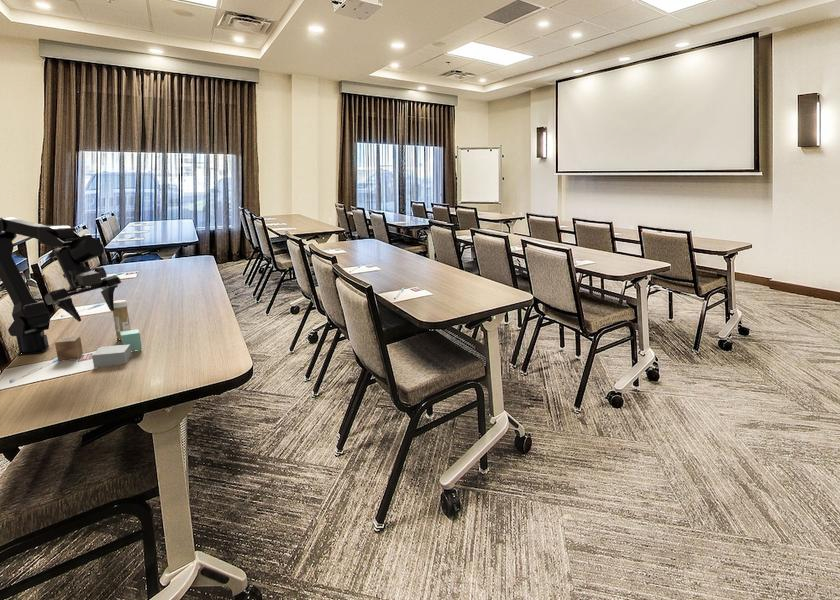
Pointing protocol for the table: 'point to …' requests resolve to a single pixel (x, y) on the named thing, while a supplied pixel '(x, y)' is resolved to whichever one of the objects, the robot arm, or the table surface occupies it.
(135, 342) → the teal block
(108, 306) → the robot arm
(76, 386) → the table surface
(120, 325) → the sprinkles bottle
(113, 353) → the grey slab
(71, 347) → the walnut block
